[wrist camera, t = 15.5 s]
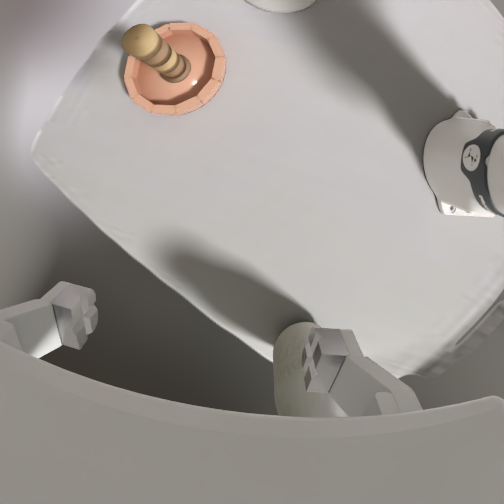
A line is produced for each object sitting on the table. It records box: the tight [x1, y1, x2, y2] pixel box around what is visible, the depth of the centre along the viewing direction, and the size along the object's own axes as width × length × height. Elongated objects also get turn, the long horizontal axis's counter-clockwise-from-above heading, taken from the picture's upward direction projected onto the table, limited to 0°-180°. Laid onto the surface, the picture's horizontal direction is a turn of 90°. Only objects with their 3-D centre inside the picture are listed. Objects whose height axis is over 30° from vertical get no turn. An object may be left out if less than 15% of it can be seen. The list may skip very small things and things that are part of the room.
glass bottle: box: [273, 322, 348, 417], centre depth 37 cm, size 10×10×28 cm
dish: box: [124, 23, 226, 115], centre depth 33 cm, size 14×14×3 cm
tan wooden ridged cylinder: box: [122, 24, 191, 83], centre depth 27 cm, size 4×4×14 cm
